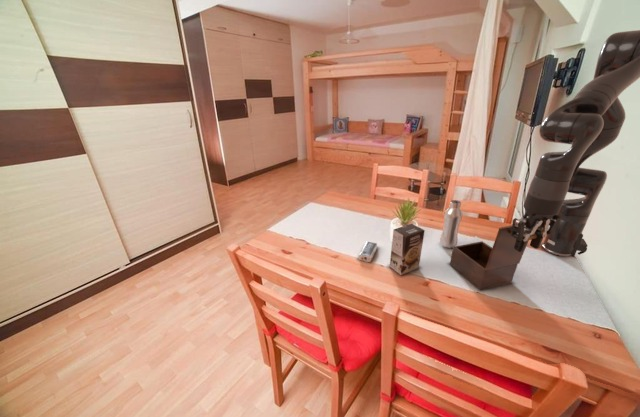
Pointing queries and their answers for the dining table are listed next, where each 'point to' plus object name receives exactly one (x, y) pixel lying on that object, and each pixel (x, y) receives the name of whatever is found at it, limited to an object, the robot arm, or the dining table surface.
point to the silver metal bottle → (451, 225)
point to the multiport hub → (368, 251)
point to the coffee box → (406, 248)
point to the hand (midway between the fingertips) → (526, 248)
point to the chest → (480, 266)
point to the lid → (505, 249)
